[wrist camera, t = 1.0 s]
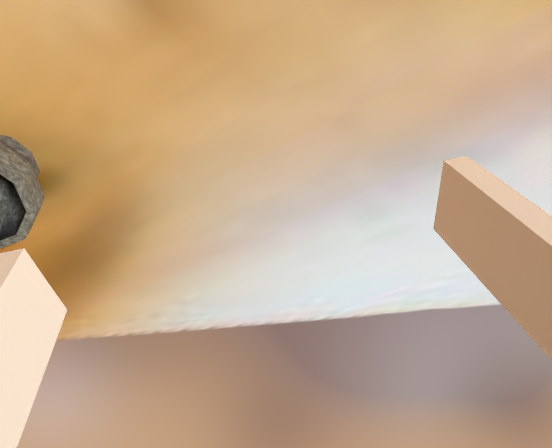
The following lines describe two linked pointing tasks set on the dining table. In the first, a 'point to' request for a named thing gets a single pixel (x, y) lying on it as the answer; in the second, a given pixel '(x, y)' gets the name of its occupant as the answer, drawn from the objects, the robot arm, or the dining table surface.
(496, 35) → the dining table surface
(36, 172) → the mortar and pestle
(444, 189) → the robot arm
